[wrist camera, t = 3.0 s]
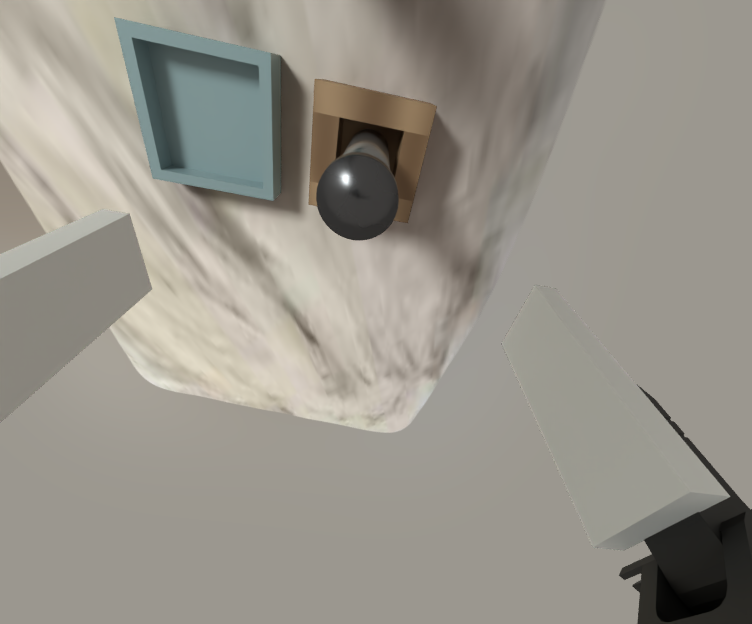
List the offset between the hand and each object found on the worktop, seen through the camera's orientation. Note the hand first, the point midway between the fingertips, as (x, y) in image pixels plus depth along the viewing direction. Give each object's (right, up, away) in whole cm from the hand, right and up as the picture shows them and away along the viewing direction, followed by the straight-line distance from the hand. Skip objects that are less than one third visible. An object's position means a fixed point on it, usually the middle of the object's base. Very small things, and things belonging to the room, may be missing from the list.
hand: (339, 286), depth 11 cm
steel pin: (+1, +15, +20) cm, 25 cm away
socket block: (+1, +16, +21) cm, 26 cm away
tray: (-14, +18, +20) cm, 30 cm away
